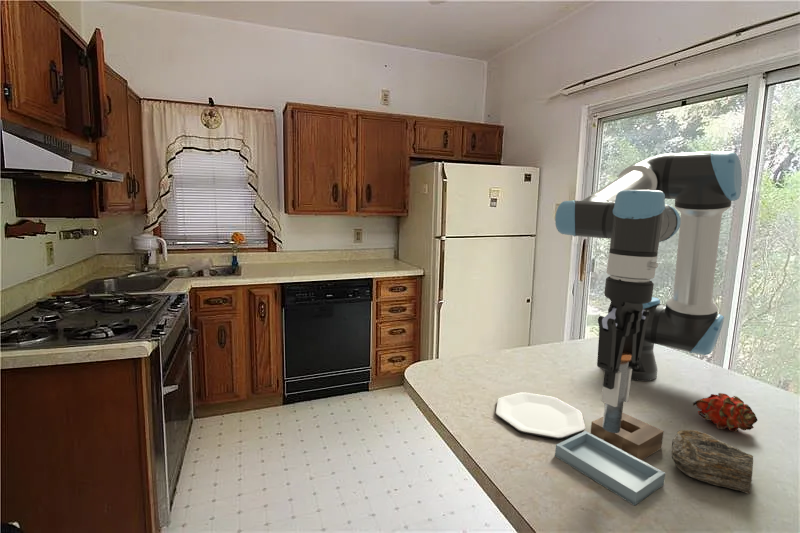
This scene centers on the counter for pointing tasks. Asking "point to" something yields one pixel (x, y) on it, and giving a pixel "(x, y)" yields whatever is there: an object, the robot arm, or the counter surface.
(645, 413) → the counter surface
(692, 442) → the stone
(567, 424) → the plate
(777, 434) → the counter surface
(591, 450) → the tray
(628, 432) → the block
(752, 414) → the dragon fruit
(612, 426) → the lock pin
